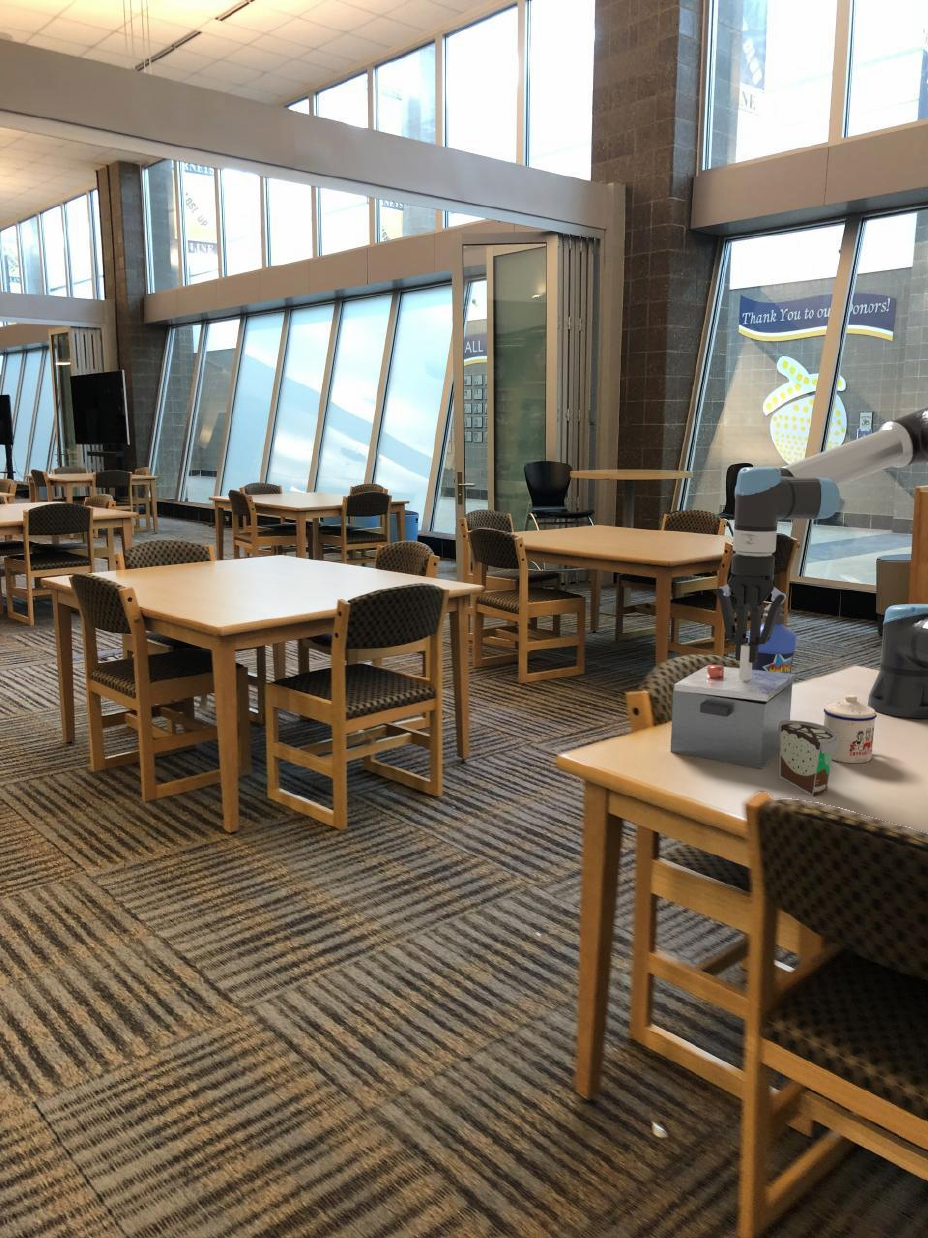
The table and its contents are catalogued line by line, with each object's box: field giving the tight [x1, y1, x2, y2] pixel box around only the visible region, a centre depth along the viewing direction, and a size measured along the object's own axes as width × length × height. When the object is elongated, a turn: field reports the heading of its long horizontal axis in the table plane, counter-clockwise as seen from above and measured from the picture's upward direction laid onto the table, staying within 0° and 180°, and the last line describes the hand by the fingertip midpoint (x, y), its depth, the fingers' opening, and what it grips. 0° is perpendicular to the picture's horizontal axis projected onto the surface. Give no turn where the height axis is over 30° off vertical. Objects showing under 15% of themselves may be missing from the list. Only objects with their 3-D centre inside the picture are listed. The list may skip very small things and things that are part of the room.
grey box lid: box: [673, 664, 796, 701], centre depth 181 cm, size 17×18×3 cm
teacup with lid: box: [823, 694, 878, 764], centre depth 179 cm, size 12×9×12 cm
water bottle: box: [747, 603, 798, 720], centre depth 197 cm, size 9×9×25 cm
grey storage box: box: [670, 683, 793, 770], centre depth 183 cm, size 17×21×12 cm
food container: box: [778, 719, 838, 797], centre depth 164 cm, size 12×6×10 cm, turn 17°
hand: (745, 678), depth 180 cm, fingers closed
